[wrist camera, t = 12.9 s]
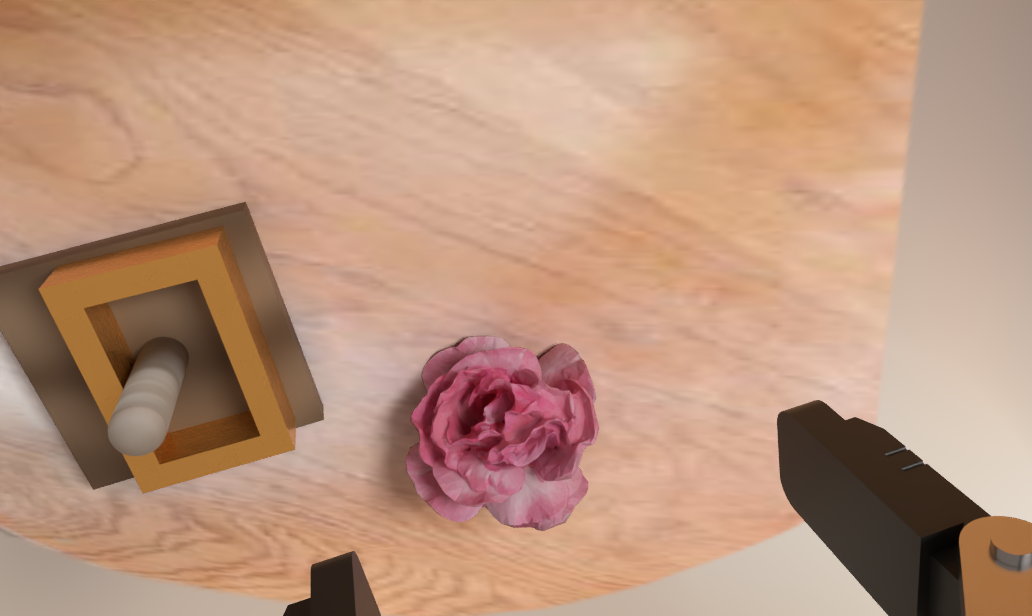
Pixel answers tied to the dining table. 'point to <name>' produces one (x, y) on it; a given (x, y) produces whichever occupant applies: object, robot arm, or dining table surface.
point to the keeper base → (144, 322)
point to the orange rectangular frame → (109, 361)
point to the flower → (503, 433)
